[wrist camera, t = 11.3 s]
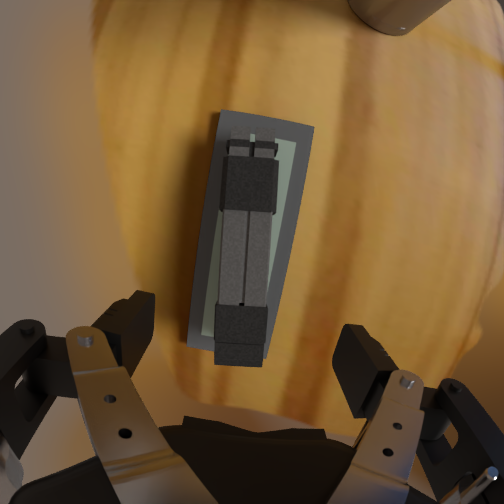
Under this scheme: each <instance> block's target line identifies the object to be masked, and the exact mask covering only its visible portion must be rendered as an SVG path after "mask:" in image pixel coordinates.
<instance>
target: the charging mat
mask: <svg viewBox="0 0 504 504" xmlns="http://www.w3.org/2000/svg"><path fill="white" fill-rule="evenodd" d="M232 126H247V127H251V134H250V142H255V133H256V127H261V128H273V129H275V143H278V152H277V154H276V157H274V159H275V160H279V174H278V192H277V209H276V214H275V215H272V230H271V246H270V261H269V275H268V289H267V302H266V304H267V307H268V319H267V331H266V343H264V354H263V359H266V357H267V353H268V349H269V345H270V341H271V337H272V333H273V328H274V324H275V320H276V316H277V312H278V307H279V303H280V299H281V294H282V290H283V285H284V281H285V276H286V272H287V267H288V263H289V258H290V253H291V249H292V244H293V239H294V234H295V229H296V224H297V219H298V214H299V209H300V204H301V199H302V194H303V189H304V183H305V178H306V172H307V167H308V161H309V156H310V150H311V144H312V139H313V133H314V127H313V126H309V125H304V124H300V123H295V122H291V121H286V120H281V119H276V118H271V117H266V116H260V115H254V114H248V113H242V112H236V111H229V110H221V113H220V118H219V123H218V128H217V133H216V138H215V144H214V149H213V154H212V160H211V165H210V171H209V177H208V183H207V189H206V195H205V201H204V208H203V214H202V221H201V227H200V234H199V241H198V249H197V256H196V264H195V272H194V280H193V289H192V297H191V306H190V316H189V326H188V336H187V347H192V348H198V349H203V350H209V351H214V347H215V340H214V317H215V304H216V302H217V300H218V279H219V261H220V245H221V229H222V215H223V212H221V211H220V210H219V205H220V192H221V179H222V167H223V157H226V156H229V154H227V150H226V141H227V140H230V138H231V127H232Z"/></svg>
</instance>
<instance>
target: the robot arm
mask: <svg viewBox="0 0 504 504" xmlns="http://www.w3.org/2000/svg"><path fill="white" fill-rule="evenodd" d="M450 1H451V0H348V2H349V4H350V6H351V8H352V9H353V11H354V12H355V13H356V14H357V15H358V16H359V18H360V19H362V20H363V21H364V22H365V23H367V24H368V25H369V26H371V27H373V28H374V29H376V30H378V31H380V32H383V33H386V34H389V35H395V36H400V35H405V34H407V33H409V32H410V31H412V30H413V29H414V28H415V27H417V26H418V25H419V24H420V23H422V22H423V21H425V20H426V19H427V18H428V17H430V16H431V15H432V14H434V13H435V12H436V11H438V10H439V9H440V8H442V7H443V6H444V5H446V4H447V3H448V2H450ZM154 313H155V294H154V293H149V292H144V291H140V290H136V291H135V293H134V294H133V295H132V296H131V297H130V298H129V299H121V300H119V301H116V302H114V303H113V304H112V305H111V306H110V307H109V308H108V309H107V310H106V311H105V312H104V314H102V315H101V316H100V317H99V318H98V319H97V320H96V321H95V322H94V323H93V324H92V325H91V326H90V327H89V326H80V327H76V328H73V329H71V330H70V331H68V333H67V334H66V338H65V337H55V336H47V335H46V330H45V327H44V325H43V324H42V323H41V322H39V321H36V320H32V319H26V320H20V321H18V322H16V323H14V324H13V325H12V326H10V327H9V328H8V329H7V330H6V331H5V332H3V333H2V334H1V335H0V504H504V434H503V433H502V432H501V430H500V429H499V428H498V426H497V425H496V424H495V422H494V421H493V420H492V418H491V417H490V416H489V415H488V413H487V412H486V411H485V409H484V408H483V407H482V406H481V404H480V403H479V402H478V401H477V399H476V398H475V397H474V396H473V394H472V393H471V392H470V391H469V389H468V388H467V387H466V386H465V385H464V384H463V383H461V382H459V381H457V380H455V379H450V378H446V379H443V380H442V381H441V383H440V385H439V386H438V388H437V389H435V388H429V387H424V383H423V381H422V379H421V378H420V377H419V376H417V375H416V374H414V373H412V372H410V371H406V370H399V368H398V367H397V366H396V364H395V363H394V362H393V360H392V359H391V357H390V356H388V353H387V352H386V351H384V350H385V349H384V348H383V347H382V345H381V344H380V343H379V342H378V341H376V340H375V339H374V338H372V337H371V336H370V335H369V333H368V332H367V331H366V329H365V328H364V327H363V326H362V325H354V324H345V325H344V326H343V328H342V331H341V334H340V337H339V340H338V343H337V346H336V348H335V351H334V354H333V358H332V366H333V369H334V372H335V374H336V376H337V379H338V381H339V383H340V386H341V388H342V390H343V393H344V395H345V398H346V400H347V402H348V405H349V407H350V410H351V412H352V414H353V417H354V418H366V419H367V421H366V422H365V424H364V426H363V427H362V429H361V431H360V433H359V435H358V437H357V439H356V440H355V442H354V444H353V446H352V447H351V446H349V445H346V444H344V443H342V442H339V441H336V440H331V439H327V438H326V434H325V431H324V429H296V428H291V429H284V430H277V431H269V432H260V433H257V432H252V431H248V430H245V429H241V428H238V427H235V426H231V425H228V424H225V423H222V422H219V421H212V420H206V419H200V418H194V417H189V416H184V419H183V423H182V425H172V426H163V427H159V428H158V427H157V425H156V424H155V422H154V420H153V419H152V417H151V415H150V413H149V412H148V410H147V408H146V407H145V405H144V403H143V401H142V399H141V397H140V395H139V394H138V392H137V390H136V388H135V386H134V384H133V382H132V380H131V377H132V375H133V373H134V371H135V369H136V367H137V365H138V364H139V362H140V360H141V358H142V356H143V354H144V353H145V351H146V349H147V347H148V345H149V344H150V342H151V339H152V336H153V331H154ZM21 375H22V377H23V380H22V381H21V382H20V383H19V385H18V386H17V387H16V388H15V384H16V382H17V380H18V379H19V378H20V376H21ZM57 396H61V397H69V398H77V399H78V403H79V406H80V410H81V413H82V417H83V420H84V423H85V426H86V429H87V432H88V435H89V438H90V441H91V444H92V447H93V449H94V452H95V455H96V456H94V457H92V458H90V459H88V460H85V461H83V462H80V463H78V464H76V465H74V466H71V467H69V468H66V469H64V470H61V471H59V472H56V473H53V474H51V475H48V476H46V477H43V478H40V479H37V480H34V481H32V482H30V483H27V484H25V485H23V486H22V480H23V475H24V472H23V467H22V465H21V463H20V461H19V460H20V458H21V456H22V454H23V453H24V451H25V449H26V447H27V446H28V444H29V442H30V440H31V439H32V437H33V435H34V433H35V432H36V430H37V428H38V427H39V425H40V423H41V422H42V420H43V418H44V417H45V415H46V414H47V412H48V410H49V409H50V407H51V405H52V404H53V402H54V401H55V399H56V397H57ZM451 422H452V424H453V425H454V427H455V429H456V430H457V432H458V442H457V444H456V445H455V447H454V448H453V449H452V448H451V446H450V444H449V443H448V441H447V439H446V438H445V436H444V434H443V433H444V432H445V430H446V429H447V428H448V426H449V425H450V423H451ZM415 453H416V454H417V456H418V458H419V460H420V463H421V465H422V467H423V469H424V472H425V474H426V476H427V478H428V481H429V483H430V485H431V487H432V490H433V492H434V495H435V497H436V499H437V502H436V501H435V500H433V499H431V498H430V497H428V496H426V495H425V494H423V493H421V492H420V491H418V490H416V489H415V488H413V487H412V486H410V485H408V484H407V481H408V477H409V474H410V471H411V467H412V464H413V461H414V457H415Z"/></svg>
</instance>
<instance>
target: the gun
mask: <svg viewBox="0 0 504 504" xmlns="http://www.w3.org/2000/svg"><path fill="white" fill-rule="evenodd" d="M250 134H251V127H247V126H232V127H231V138H230V140H227V141H226V150H227V154H229V156H226V157H223V167H222V179H221V192H220V205H219V210H220V211H221V212H223V215H222V229H221V245H220V261H219V279H218V300H217V302H216V304H215V317H214V340H215V347H214V365H227V366H244V367H262V363H263V354H264V343H266V331H267V319H268V307H267V304H266V302H267V289H268V275H269V261H270V246H271V230H272V215H275V214H276V209H277V192H278V174H279V160H275V159H274V157H276V154H277V152H278V143H275V129H273V128H261V127H256V133H255V142H250Z"/></svg>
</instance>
